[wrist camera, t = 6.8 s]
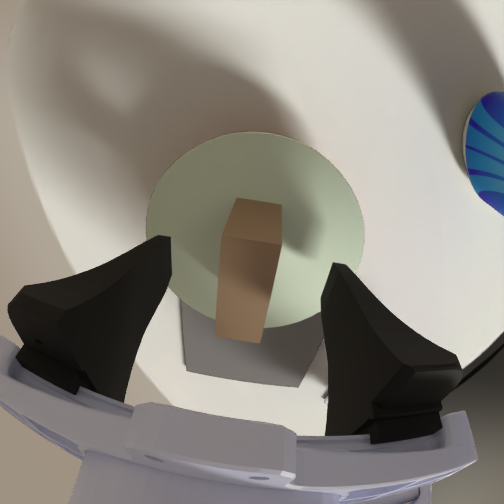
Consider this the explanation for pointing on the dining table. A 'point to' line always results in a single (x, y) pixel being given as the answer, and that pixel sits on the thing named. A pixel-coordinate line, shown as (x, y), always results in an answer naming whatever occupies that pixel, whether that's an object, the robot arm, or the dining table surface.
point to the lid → (255, 230)
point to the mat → (251, 350)
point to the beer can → (486, 149)
